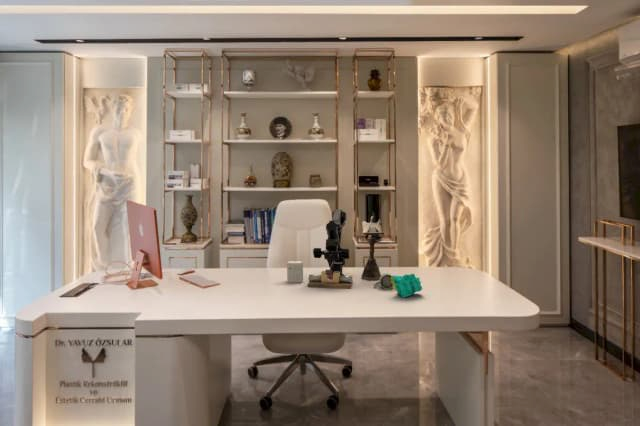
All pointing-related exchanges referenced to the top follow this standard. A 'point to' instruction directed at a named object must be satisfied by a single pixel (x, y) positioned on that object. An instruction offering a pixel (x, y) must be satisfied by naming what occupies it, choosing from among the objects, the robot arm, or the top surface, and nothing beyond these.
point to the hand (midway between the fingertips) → (329, 266)
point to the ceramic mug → (384, 281)
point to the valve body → (336, 278)
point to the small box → (295, 271)
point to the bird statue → (372, 249)
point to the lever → (329, 274)
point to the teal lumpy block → (406, 284)
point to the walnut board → (330, 284)
